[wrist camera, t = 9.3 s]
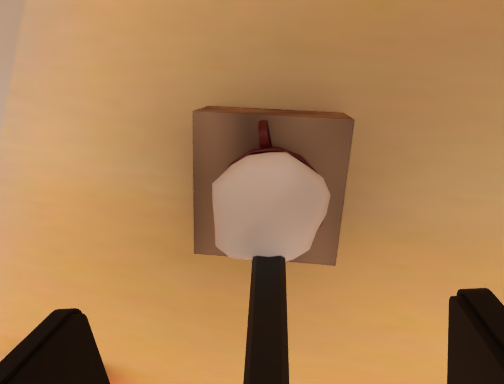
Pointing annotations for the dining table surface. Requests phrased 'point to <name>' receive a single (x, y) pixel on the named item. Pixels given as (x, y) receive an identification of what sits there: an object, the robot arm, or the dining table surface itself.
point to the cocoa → (268, 241)
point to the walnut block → (282, 135)
